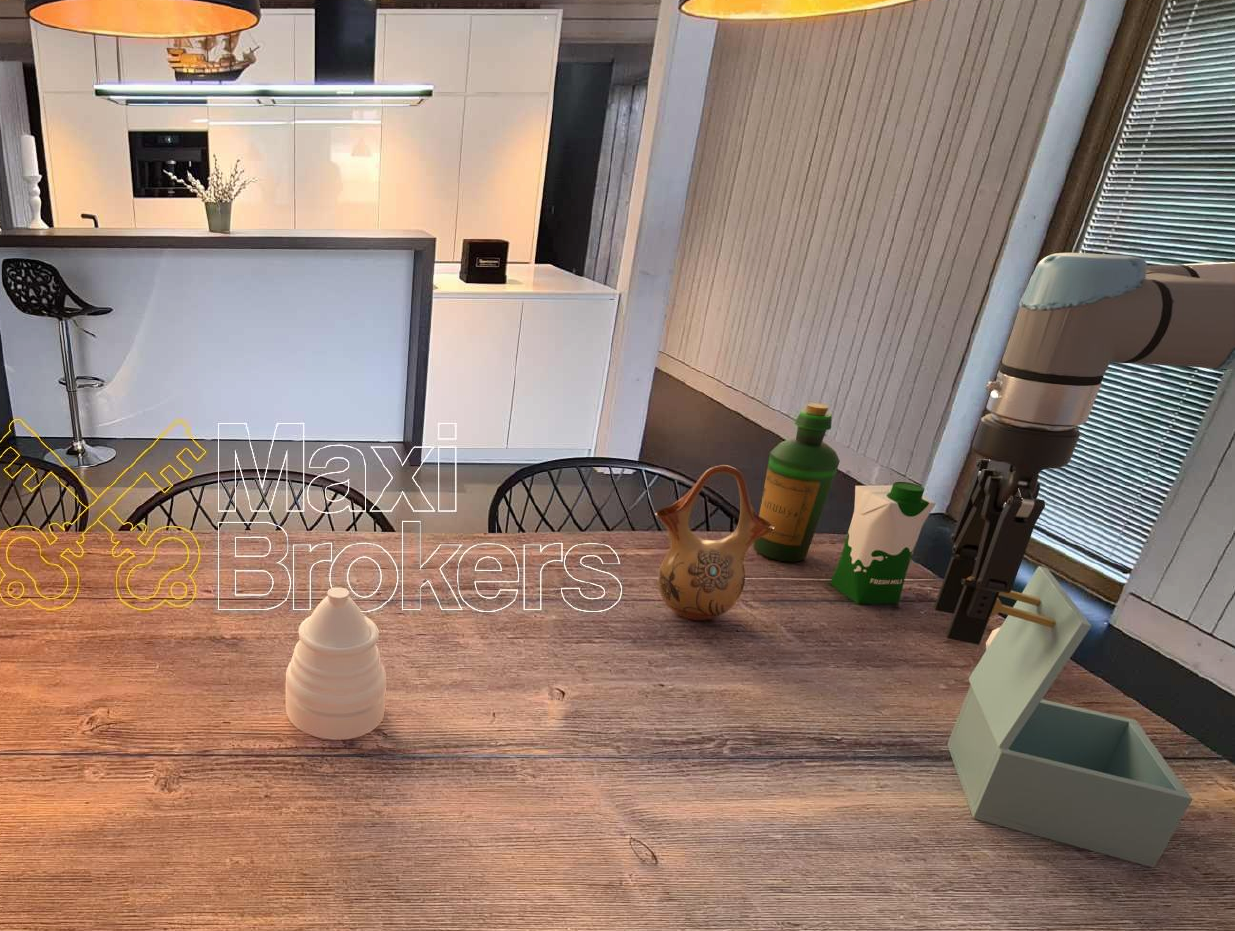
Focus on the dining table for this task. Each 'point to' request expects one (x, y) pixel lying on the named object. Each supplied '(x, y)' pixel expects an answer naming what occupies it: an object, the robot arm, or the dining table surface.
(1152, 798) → the compartment
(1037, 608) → the compartment door
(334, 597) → the honey pot
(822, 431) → the bottle
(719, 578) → the ceramic vessel
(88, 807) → the dining table surface
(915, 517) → the milk carton
